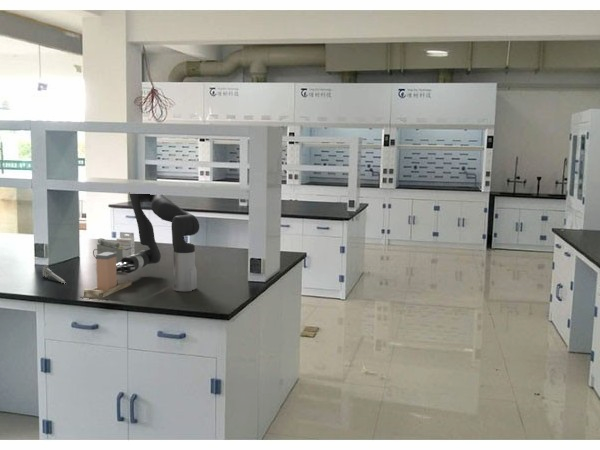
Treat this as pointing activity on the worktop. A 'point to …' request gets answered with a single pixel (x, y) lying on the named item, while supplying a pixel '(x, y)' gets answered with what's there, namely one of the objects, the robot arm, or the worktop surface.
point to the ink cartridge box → (126, 243)
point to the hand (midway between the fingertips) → (111, 271)
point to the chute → (101, 293)
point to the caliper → (51, 274)
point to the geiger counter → (109, 248)
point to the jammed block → (106, 271)
